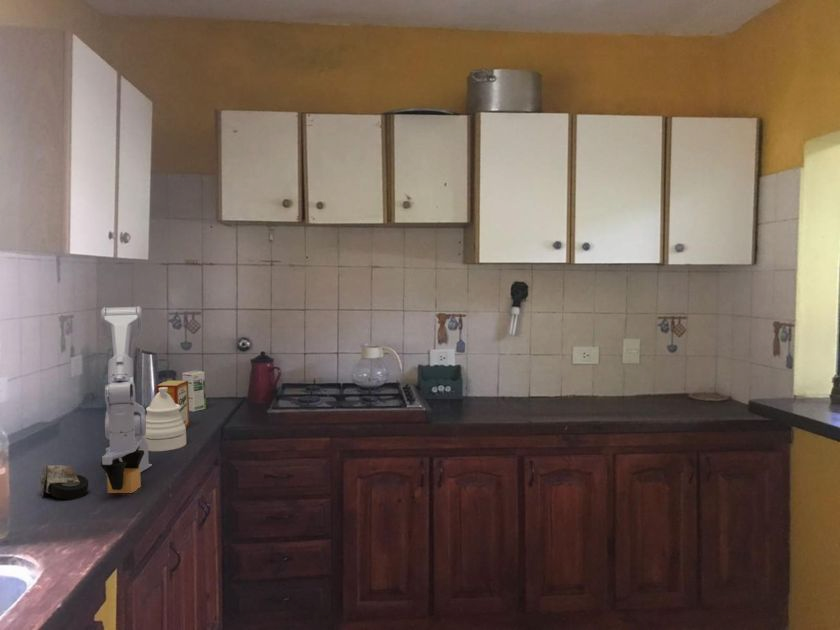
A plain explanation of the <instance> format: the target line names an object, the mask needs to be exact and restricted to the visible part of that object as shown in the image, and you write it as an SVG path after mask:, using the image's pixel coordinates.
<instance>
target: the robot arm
mask: <svg viewBox="0 0 840 630" xmlns="http://www.w3.org/2000/svg"><path fill="white" fill-rule="evenodd" d="M100 311H101V312H100V313H101V314H100V322H101V329H102V332H103V336H104V339H105V340H107V341H109V342H112V351H113V352H112V353H113V356H112V357H110V358H109V360H108V362H107V363H108V364H107V384H105V387H104V399H105V405H106V411H105V419H104V433H105V438H106V439H107V440H109V447H106V448H105V452H106V453H105V454H104V455H102V457H101V460H102V461H101V462H100V466H101V468H102V469H103V470H104V472H105V476H106V477H107V476H108V478H109V481H110V484H111V487H112V489H113V490H121V489H122V486H123V474H124V469H125V468H136V469H140V474H141V473H142V472H143V471H145V470H147V469H148V468H150V467H152V464H151V463H149V451H148V443H147V440H146V439H145V438H144V437H143V436H144V435H145V434H146V408H144V406H143V405H141V404H140V403H138V402H136V384H135V381H134V360H133V359H134V358H133V357H134V356H133V355H134V354H133V351H134V350H133V349H134V345H135V342H136V341H137V340H139V339H142V335H143V312H142V307H140V306H139V305H137V306H127V307H125V306H124V307H120V306H119V307H106V306H105V307H104V306H103V307H102V309H101V310H100Z"/></svg>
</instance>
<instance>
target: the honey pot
mask: <svg viewBox="0 0 840 630" xmlns="http://www.w3.org/2000/svg"><path fill="white" fill-rule="evenodd" d="M167 390H168V388H167V387H161V388H159V393H157V392H156V394H155V395H154V397H153V398H152V400H151V401H150V404H149V406H147V407H145V412H146V413H145V415H146V434H145V435H144V436H143V437H144V438H145V439H146V440H147V443H148V452H149V451H150V452H164V451H165V452H166V451H171V450H176V449H181V448H182V447H184V446H186V445H187V430H186V429H187V428H186V427H185V425H184V423H183V420H182V416H181V415H180V413H179V410H180V409H181V406H180V405H178V404H175V402H174V400H173V399H172V397H171V396H170V395H169V394H168V393H167Z"/></svg>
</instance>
